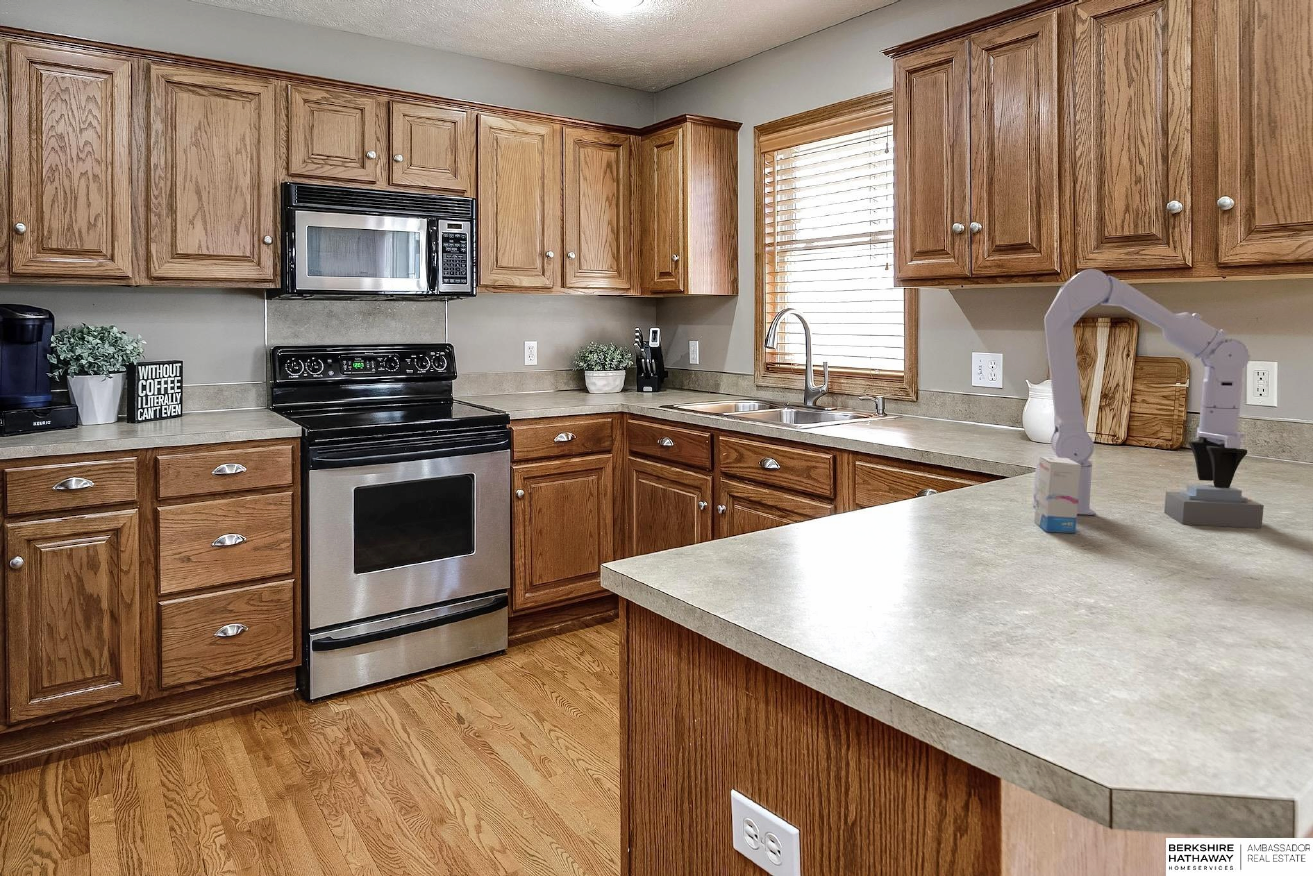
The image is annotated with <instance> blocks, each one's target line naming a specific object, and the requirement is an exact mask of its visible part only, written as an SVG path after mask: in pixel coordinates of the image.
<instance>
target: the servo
mask: <svg viewBox="0 0 1313 876" xmlns="http://www.w3.org/2000/svg"><path fill="white" fill-rule="evenodd" d="M1179 492H1180V495H1182V496H1184V497H1186V498H1188V499H1191V500H1204V501H1225V502H1241V501H1242V502H1247V501H1248V497H1246V496H1244V495H1243V494H1242V493H1243V490H1241V489H1238V488H1236V487H1234V486H1231V485H1230V487H1229V488H1216V487H1214V485H1211V484H1210V485H1208V484H1207V485H1205V484H1187V485H1186V491H1182V490H1181V491H1179ZM1241 495H1242V496H1241ZM1243 496H1244V497H1243Z"/></svg>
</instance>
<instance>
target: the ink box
mask: <svg viewBox="0 0 1313 876" xmlns="http://www.w3.org/2000/svg"><path fill="white" fill-rule="evenodd" d="M1038 459H1039V460H1038V463H1039V469H1038V481H1037V494H1036V506H1034V507H1035V508H1034V519H1033V522H1034V524H1036V525H1037V526H1039V528H1041V529H1042V530H1043V531H1044V532H1045V533H1061V534H1063V533H1064V534H1076V533H1077V531H1076V529H1077V518H1078V514H1077V508H1078V496H1079V485H1080V474H1081V465H1080V464H1078V463H1076V462H1074V461H1072V460H1070V459H1068V458H1058V457H1052V456H1040V455H1039V458H1038Z"/></svg>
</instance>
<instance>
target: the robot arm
mask: <svg viewBox="0 0 1313 876" xmlns="http://www.w3.org/2000/svg"><path fill="white" fill-rule="evenodd" d="M1099 303H1100V305H1102V306H1113V307H1115V306H1116V307H1121V308H1123V309H1125V310H1127V311H1129V312H1130V313H1133V314H1134V315H1136V316H1137V317H1139V318H1141V319H1142V320H1145V321H1147V322H1149V323H1151V324H1152V325H1154V326H1156V327H1158V328H1160V329H1161V330H1162V331H1161V332H1162V335H1163V339H1164V341H1166V342H1168V343H1170V344H1171V345H1173V347H1174V346H1175V347H1176V348H1178V349H1179V350H1181V351H1182V352H1185V353H1186V354H1188V355H1189V356H1192V357H1193V358H1194V359H1200V362H1201V363H1202V365H1203V367H1204V377H1203V381H1202V392H1201V393H1202V394H1201V405H1200V412H1199V413H1200V414H1199V426H1198V427H1197V428H1196V437H1195V438H1196V439H1197V440H1189V441H1188V445H1189V447H1190V449H1191V451H1192V454H1193V457H1194V462H1195V466H1196V467H1195V468H1196V472H1197V473H1196V474H1197V478H1198V480H1199V481H1208V482H1210V481H1212V482H1213V486H1214V487H1216V488H1229V487H1230V485H1231V484H1232V482H1233V479H1234V477H1235V473H1236V471H1237V469H1238V467H1239V465H1240V463H1241V462H1242V460H1243V459H1244V458H1245V456H1247V454H1248V449H1245V448H1241V443H1242V442H1241V441H1242V438H1246V433H1244V432H1239V425H1240V424H1239V423H1240V421H1239V420H1240V414H1241V413H1240V412H1241V411H1240V409H1241V400H1242V391H1243V373H1244V368H1245V367H1246V366H1247V365H1248V364H1249V362H1250V359H1251V354H1250V353H1249V349H1247V346H1246V345H1245V343H1244V342H1242V341H1241V340H1238V339H1236V338H1229V337H1226V335H1227V334H1228V331H1226V330H1224V329H1220V330H1219V329H1216V328H1215V327H1213V326H1212V325H1209V324H1208V323H1207V322H1205V321H1203V320H1202V318H1203V316H1202V315H1201V314H1199V313H1197V312H1195V313H1192V314H1191V313H1190V312H1187V311H1185V312H1180V313H1174V312H1172V311H1170V310H1169V309H1167V308H1166V307H1164V306H1163V305H1161V303H1159V302H1156V301H1155V300H1153V299H1152V298H1151V297H1148V295H1145V294H1144V293H1142V292H1141V291H1140V290H1138V289H1136V288H1135V287H1133V286H1131V285H1130V284H1128V283H1126V282H1125V281H1123V280H1120V279H1118V278H1117V277H1114V276H1111V275H1108V276H1107V274H1105V272H1103V271H1102V270H1099V269H1096V268H1095V269H1094V268H1089V269H1084V270H1082V271H1080V272H1078V273H1077V274H1075V275H1073V276H1072V277H1071V278H1069V279H1068V280H1067V281H1066V282H1065V283H1064V284H1063V285H1062V286H1061V287H1060V288H1059V290H1058V292H1057V294H1056V296H1055V298H1054V299H1053V302H1052V303H1051V305H1050V307H1049V308H1048V310H1047V311H1046V313H1045V315H1044V319H1043V320H1044V321H1043V324H1044V332H1045V334H1044V335H1045V342H1046V350H1047V358H1048V359H1047V360H1048V366H1049V367H1048V368H1049V378H1050V387H1051V393H1052V403H1053V412H1054V415H1053V417H1054V418H1053V419H1054V420H1053V423H1054V431H1053V433H1052V436H1051V438H1050V445H1051V447H1052V451H1054V453H1055V454H1053V455H1052V456H1051V457H1058V458H1068V459H1070V460H1072V461H1074V462H1076V463H1078V464H1080V465H1081V474H1080V485H1079V496H1078V508H1077V515H1087V516H1088V515H1089V516H1095V515H1096V513H1097V512H1095V511H1094V510H1093V509H1092V508H1091V507H1090V506H1091V505H1090V504H1091V488H1092V474H1093V462H1092V461H1091V460H1090V458H1091V457H1092V455H1093V454H1094V450H1095V444H1094V443H1095V442H1094V440H1093V439H1092V437H1091V436H1090V435H1089V433H1088V431H1087V426H1086V421H1085V417H1084V413H1083V405H1082V396H1081V395H1082V394H1081V388H1080V387H1081V386H1080V378H1079V368H1078V362H1077V361H1078V360H1077V352H1076V343H1075V335H1074V334H1075V333H1074V325H1075V324H1076V323H1077V322H1078V321H1079V320H1080V318H1082V316H1083V315H1085V312H1087V311H1088V310H1090V309H1091V308H1093V307H1095V306H1097V305H1098V304H1099ZM1038 469H1039V462H1038V463H1037V464H1036V467H1035V472H1034V487H1033V488H1034V489H1033V502H1032V506H1034V507H1035V506H1036V494H1037V481H1038Z"/></svg>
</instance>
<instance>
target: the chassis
mask: <svg viewBox="0 0 1313 876" xmlns="http://www.w3.org/2000/svg"><path fill="white" fill-rule="evenodd" d="M1241 496H1243V497H1245V496H1244V495H1243V494H1242V495H1241ZM1247 498H1248V497H1247ZM1163 511H1164V512H1163V513H1164V514H1165V515H1168V516H1169V517H1170V518H1172V519H1173V520H1175V521H1177V522H1178V523H1180V524H1181V525H1192V526H1193V525H1194V526H1209V527H1210V526H1211V527H1231V528H1232V527H1233V528H1244V529H1246V528H1249V529H1262V528H1263V520H1264V519H1263V518H1264V516H1263V515H1264V504H1262V503H1259V502H1257V501H1255V500H1253V499H1251V498H1248V501H1247V502H1242V501H1241V502H1225V501H1204V500H1191V499H1188V498H1186V497H1184V496H1182V495H1180V491H1167V490H1166V491H1165V497H1164V509H1163Z"/></svg>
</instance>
